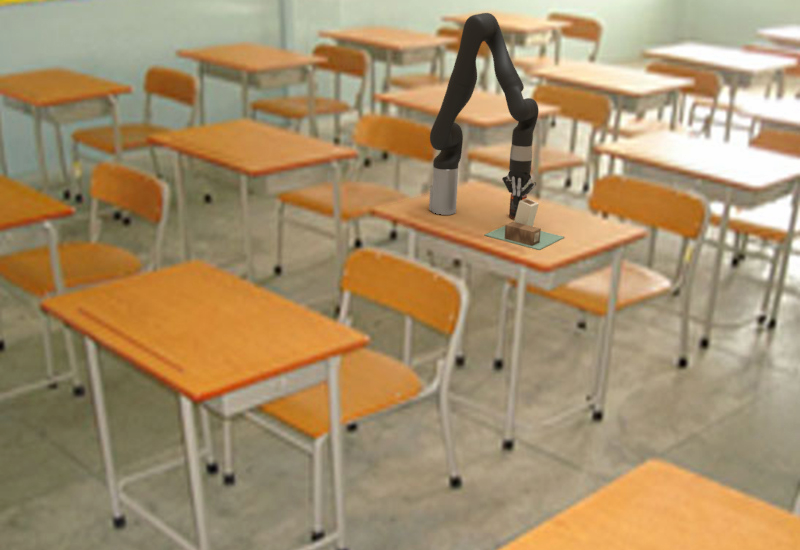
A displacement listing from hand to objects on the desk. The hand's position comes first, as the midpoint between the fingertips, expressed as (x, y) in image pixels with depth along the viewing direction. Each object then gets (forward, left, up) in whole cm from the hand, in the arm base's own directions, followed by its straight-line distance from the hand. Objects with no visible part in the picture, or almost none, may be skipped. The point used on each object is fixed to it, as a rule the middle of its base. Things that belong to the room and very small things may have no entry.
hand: (517, 205), depth 343 cm
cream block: (+3, 0, -9) cm, 9 cm away
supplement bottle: (-8, +14, -10) cm, 19 cm away
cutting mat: (+5, -3, -10) cm, 11 cm away
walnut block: (+2, -8, -7) cm, 10 cm away
